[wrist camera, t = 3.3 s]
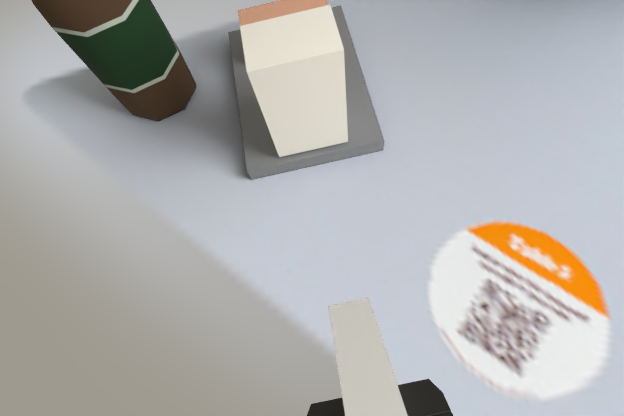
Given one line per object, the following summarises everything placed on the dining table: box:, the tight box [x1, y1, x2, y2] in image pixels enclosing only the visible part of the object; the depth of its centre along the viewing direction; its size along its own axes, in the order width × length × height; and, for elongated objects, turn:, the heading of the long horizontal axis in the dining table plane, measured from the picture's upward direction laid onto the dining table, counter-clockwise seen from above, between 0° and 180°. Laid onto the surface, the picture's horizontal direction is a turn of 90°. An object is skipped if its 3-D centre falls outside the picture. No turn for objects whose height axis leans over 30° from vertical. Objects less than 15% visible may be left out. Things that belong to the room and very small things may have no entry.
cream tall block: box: [240, 5, 348, 157], centre depth 27 cm, size 6×4×10 cm, turn 101°
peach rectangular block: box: [238, 0, 328, 26], centre depth 35 cm, size 8×3×4 cm, turn 101°
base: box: [228, 6, 384, 180], centre depth 35 cm, size 12×17×2 cm
